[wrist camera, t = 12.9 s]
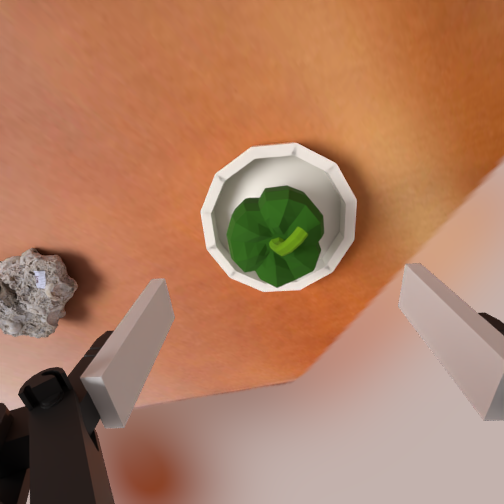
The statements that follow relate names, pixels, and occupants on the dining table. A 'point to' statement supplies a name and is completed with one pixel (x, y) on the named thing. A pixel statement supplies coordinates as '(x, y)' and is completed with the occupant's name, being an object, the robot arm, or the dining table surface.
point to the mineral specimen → (33, 294)
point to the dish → (273, 175)
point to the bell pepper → (276, 235)
